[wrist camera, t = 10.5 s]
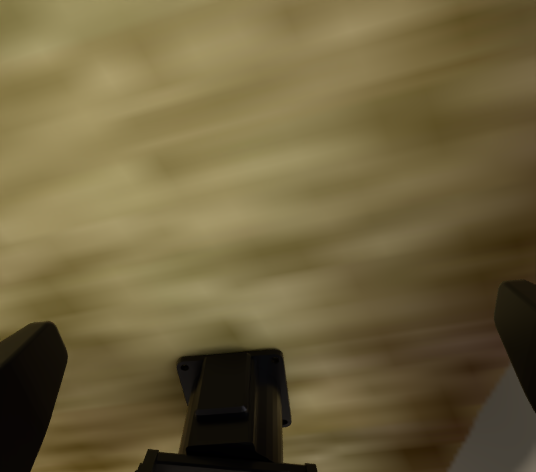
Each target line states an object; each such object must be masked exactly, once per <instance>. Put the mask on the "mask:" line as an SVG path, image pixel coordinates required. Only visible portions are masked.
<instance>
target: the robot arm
mask: <svg viewBox="0 0 536 472" xmlns="http://www.w3.org/2000/svg"><path fill="white" fill-rule="evenodd" d="M494 322H495V326H496V329H497V331H498V333H499V335H500V338H501V340H502V342H503V345H504V347H505V349H506V352H507V354H508V356H509V359H510V361H511V363H512V366H513V368H514V370H515V372H516V375H517V377H518V379H519V382H520V384H521V386H522V388H523V390H524V393H525V395H526V397H527V399H528V400H529V402H530V404H531V406H532V408H533V410H534V411H535V413H536V285H535V284H533V283H531V282H529V281H526V280H510V281H503V282H502V283H501V284H500V285H499V288H498V294H497V300H496V306H495V312H494ZM274 357H277V359H273V358H274ZM67 359H68V354H67V350H66V347H65V345H64V343H63V341H62V338H61V336H60V334H59V332H58V329H57V327H56V325H55V324H54V323H53V322H50V321H44V322H34V323H30V324H28V325H27V326H25V327H24V328H22V329H20V330H19V331H17V332H16V333H14V334H13V335H11V336H9V337H8V338H6V339H5V340H3V341H2V342H0V472H30V471H31V469H32V467H33V464H34V462H35V459H36V457H37V454H38V452H39V449H40V447H41V444H42V442H43V439H44V437H45V434H46V431H47V428H48V425H49V422H50V419H51V416H52V412H53V409H54V406H55V402H56V399H57V395H58V392H59V388H60V385H61V382H62V378H63V375H64V371H65V368H66V364H67ZM184 365H187V366H184ZM177 371H178V375H179V378H180V382H181V385H182V388H183V392H184V395H185V399H186V402H187V406H188V409H187V414H186V419H185V424H184V429H183V433H182V438H181V443H180V448H179V453H178V454H175V453H164V452H159V450H152V449H148V451H147V453H146V456H145V459H144V461H143V463H140V465H139V467H138V470H136V471H135V472H317V468H316V464H309V463H305V465H299V464H288V463H283V440H282V427H288V426H290V424H291V412H290V404H289V396H288V388H287V381H286V373H285V365H284V357H283V353H282V352H281V351H279V350H262V351H250V352H238V353H225V354H213V355H201V356H189V357H182V358H180V359H179V360H178V363H177Z"/></svg>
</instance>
